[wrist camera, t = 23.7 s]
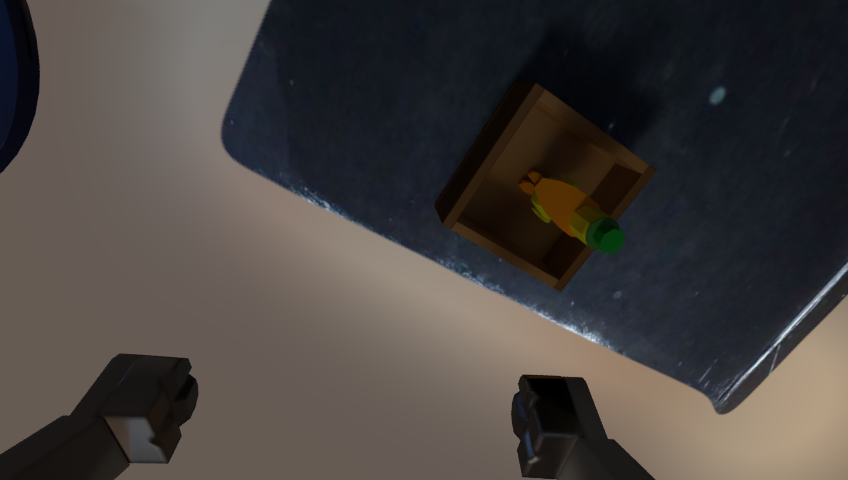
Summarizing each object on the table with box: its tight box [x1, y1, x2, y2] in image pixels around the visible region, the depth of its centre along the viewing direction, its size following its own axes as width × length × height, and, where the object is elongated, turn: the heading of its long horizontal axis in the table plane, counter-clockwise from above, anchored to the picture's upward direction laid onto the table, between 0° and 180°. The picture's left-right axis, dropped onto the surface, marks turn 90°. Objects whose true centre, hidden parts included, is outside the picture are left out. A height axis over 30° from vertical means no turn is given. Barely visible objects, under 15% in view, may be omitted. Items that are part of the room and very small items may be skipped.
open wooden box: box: [434, 81, 656, 292], centre depth 34 cm, size 12×12×5 cm
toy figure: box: [519, 170, 625, 254], centre depth 30 cm, size 7×4×12 cm, turn 52°
